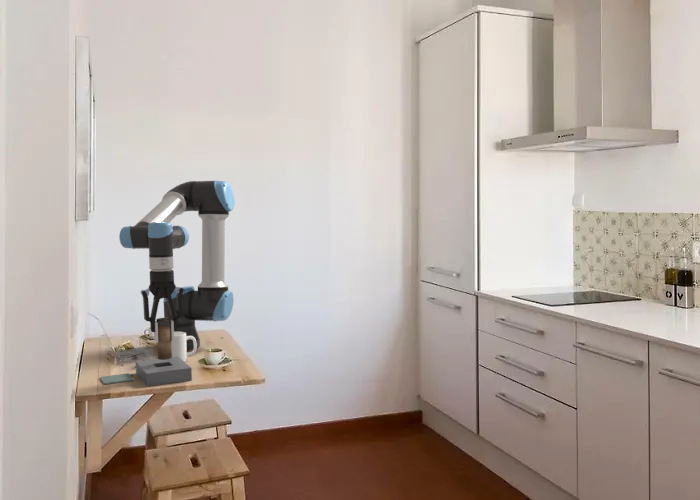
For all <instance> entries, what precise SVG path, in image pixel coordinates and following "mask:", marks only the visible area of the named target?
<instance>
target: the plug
mask: <svg viewBox="0 0 700 500" xmlns="http://www.w3.org/2000/svg"><path fill="white" fill-rule="evenodd" d="M155 321H156V322H158V342H157V343H156V345H157V359H159V360H167V359H171V358H172V349H171V321H170V318H164V317H159V318H156V320H155Z"/></svg>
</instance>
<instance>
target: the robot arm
mask: <svg viewBox="0 0 700 500" xmlns="http://www.w3.org/2000/svg"><path fill="white" fill-rule="evenodd" d="M234 207H235V195H234V192H233V189H232V187H231V185H230V183H229V182H227V181H225V180H223V181H222V180H199V181H197V180H192V181H186V182H183V183H180V184H178V185H176V186H174V187H173V188H171V189H170V190H168V191H167V192H166V193H165V194H164V195H163V196H162V199H161V201H160V202H158V204H157V205H156V206H155V207H154V208H152V209H151V210H150V211H149V212H148V213H147V214H146V215H144V216H143V218H141V219H140V220H139V221H138V222H137V223H136V224H135V225H133V226H132V225H129V226H124V227H122V228H121V229H120V231H119V235H118V236H119V243H120V245H121V247H123V248H125V249H132V250H135V249H138V250H139V249H143V250H145V249H148V259H149V260H148V261H149V263H148V264H149V265H148V266H149V269H150V271H149V285H148V288H146V289H141V290H140V294H141V297H142V305H143V306H142V307H143V319H144V320H145V322H149V323H150V331H151V333H153V340H154V342H155V343H156V344H157V342H158V322H157V321H156V319H157V313H158V310H159V309H158V308H159V303H160V301H161V299H163V302H162V303H163V318H170V321H171V340H172V341H174V332H185V333H186V336H193V337H194V338H195V339H196V343H197V348H198V347H200V346H201V339H200V336H199V334H198V333H199V332H198V331H197V328H196V321H199V322H201V321H202V322H203V321H204V322H208V321H209V322H222V321H226V320H228V319H229V317H230V316H231V314H232V311H233V306H234V299H235V297H234V293H233V292H232V291H231V290H229V285H228V284H227V283H226V282H225V255H226V254H225V243H226V242H225V239H226V238H225V237H226V236H225V235H226V233H225V231H226V227H225V226H226V219H227V218H228V217H229V216H230V212H232V211H233V210H234ZM185 212H198V213H197V216H198V217H199V218H200V219H201V222H202V223H201V230H202V231H201V282H200V283H199V284H198V285H197V290H195V287H194V286H182V287H180V286H176V284H175V275H174V274H175V273H174V269H173V268H174V249H175V250H176V249H180V248H182V247H185V246H186V245H187V243H189V239H190V238H189V237H190V234H189V231H188V230H187V229H186V227H184V226H180V225H173V224H172V221H173V219H174V218H176V217H177V216H180V215H182V214H183V213H185ZM150 293H151V294H152V295H153V301H152V305H151V312H150V305H149V303H150V302H149V296H150ZM186 345H187V351H188V350H192V349H194V343H193V340H192V339H189V340H186Z"/></svg>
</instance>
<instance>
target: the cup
mask: <svg viewBox="0 0 700 500" xmlns="http://www.w3.org/2000/svg"><path fill="white" fill-rule="evenodd" d="M189 339H192V340H193V343H194V348H193V350H192V351H190V352H187V351H188V350H187V345H186V340H189ZM197 348H198V347H197V343H196V339H195V338H194V337H193V336H186V333H185V332H174V341H172V340H171V349H172V357H177V356H178V357H179V358H180V359H181V360H183V361H184V362H185V363H186V362H187V360H188V359H187V358H188V357H191V356H193V355H194V354H195V353H196V351H197Z"/></svg>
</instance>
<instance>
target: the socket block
mask: <svg viewBox="0 0 700 500" xmlns="http://www.w3.org/2000/svg"><path fill="white" fill-rule="evenodd" d="M135 374H136V375H137V376H138V377H139V379H140V380H141V381H142V382H143V383H144V384H145V386H146V387H151V386H158V385H165V384H166V385H167V384H173V383H182V382H188V381H189V382H190V381H192V379H193V378H192V367H191V366H190V365H188V364H187V363H186V362H184V361H183V360H181V359H180V358H179V357H178V356H177V357H172V358H171V359H167V360H159V359H158V358H154V359H152V358H151V359H145V360H144V359H143V360H136V361H135Z"/></svg>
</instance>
